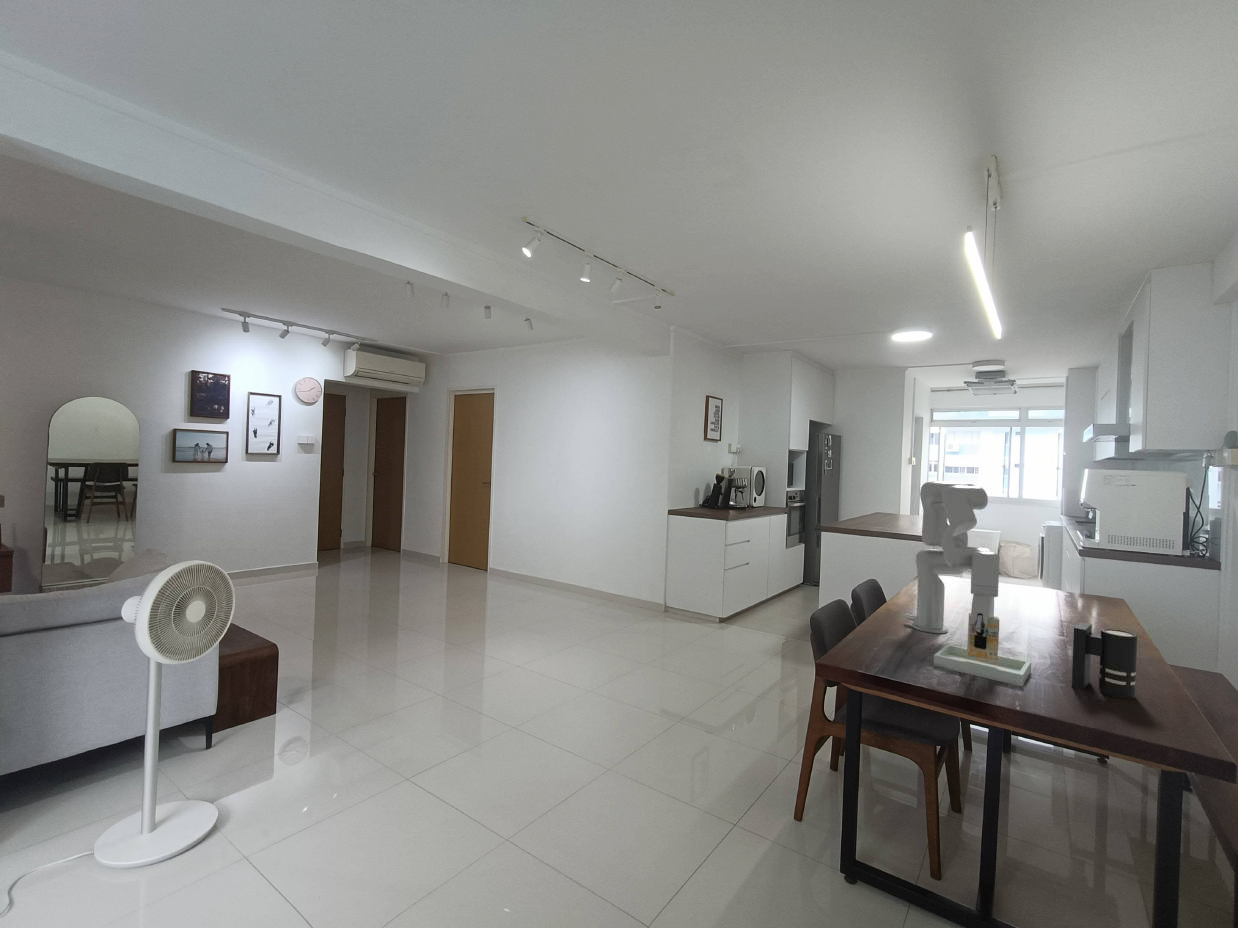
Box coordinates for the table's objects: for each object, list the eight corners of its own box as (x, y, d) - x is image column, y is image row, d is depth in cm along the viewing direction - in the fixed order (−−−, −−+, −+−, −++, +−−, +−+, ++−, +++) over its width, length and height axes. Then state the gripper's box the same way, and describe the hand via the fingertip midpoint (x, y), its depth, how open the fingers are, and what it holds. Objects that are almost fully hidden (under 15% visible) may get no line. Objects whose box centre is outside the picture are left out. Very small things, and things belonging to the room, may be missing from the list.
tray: (933, 665, 191) (934, 654, 191) (946, 654, 203) (947, 643, 203) (1022, 686, 175) (1022, 674, 175) (1030, 672, 186) (1031, 661, 186)
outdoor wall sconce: (1132, 702, 165) (1134, 639, 165) (1071, 687, 175) (1073, 627, 175) (1137, 693, 172) (1139, 632, 171) (1078, 679, 182) (1080, 621, 182)
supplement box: (967, 656, 188) (969, 615, 188) (967, 651, 193) (968, 612, 192) (998, 660, 184) (999, 619, 184) (996, 656, 189) (998, 615, 188)
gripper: (977, 584, 197) (975, 637, 197) (964, 592, 184) (962, 649, 185) (1003, 587, 192) (1001, 642, 192) (992, 596, 179) (990, 655, 180)
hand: (982, 645), depth 188 cm, fingers closed on supplement box, 5 cm apart
